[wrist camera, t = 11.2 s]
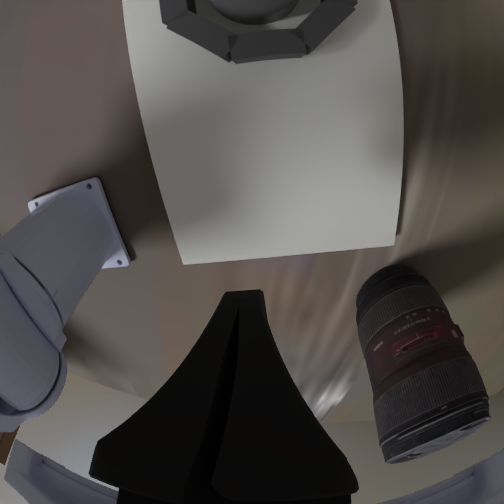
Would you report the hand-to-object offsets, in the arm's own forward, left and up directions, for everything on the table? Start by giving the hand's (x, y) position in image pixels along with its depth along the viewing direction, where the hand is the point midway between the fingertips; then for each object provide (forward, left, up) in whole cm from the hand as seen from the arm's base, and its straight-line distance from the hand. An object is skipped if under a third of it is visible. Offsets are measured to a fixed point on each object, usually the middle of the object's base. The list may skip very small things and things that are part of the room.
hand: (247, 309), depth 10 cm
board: (+2, +8, -10) cm, 13 cm away
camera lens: (+11, -10, -10) cm, 18 cm away
